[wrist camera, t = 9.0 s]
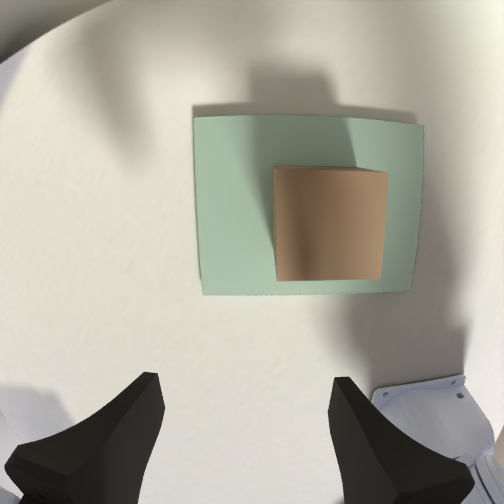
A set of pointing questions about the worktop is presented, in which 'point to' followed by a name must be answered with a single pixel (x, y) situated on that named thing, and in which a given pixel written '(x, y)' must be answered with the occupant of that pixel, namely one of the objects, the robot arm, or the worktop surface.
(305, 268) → the walnut block
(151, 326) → the worktop surface
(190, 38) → the worktop surface
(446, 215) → the worktop surface
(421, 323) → the worktop surface
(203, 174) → the sage board
